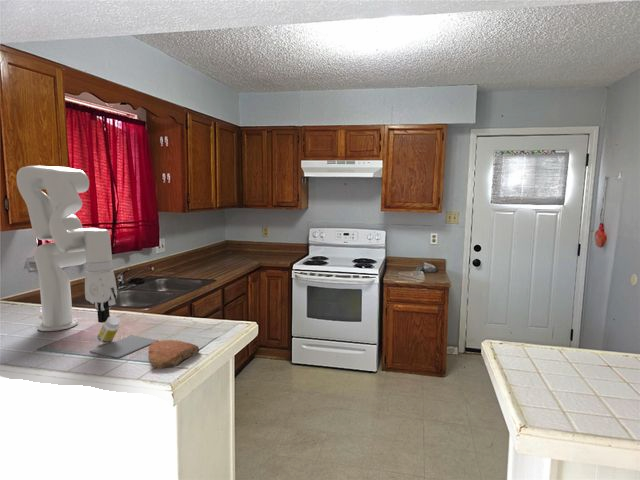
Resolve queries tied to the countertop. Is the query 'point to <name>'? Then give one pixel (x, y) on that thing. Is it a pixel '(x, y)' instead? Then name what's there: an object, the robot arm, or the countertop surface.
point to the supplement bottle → (109, 329)
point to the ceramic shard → (170, 353)
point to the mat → (123, 346)
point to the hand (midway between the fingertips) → (104, 321)
